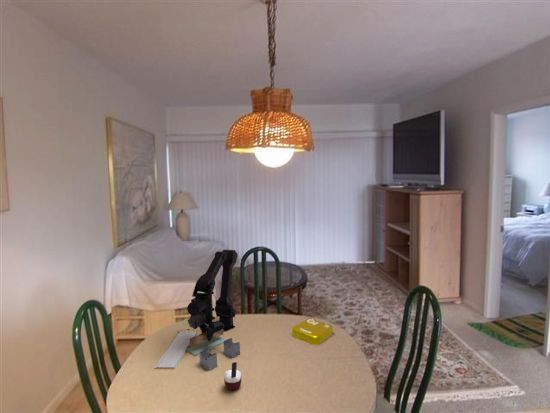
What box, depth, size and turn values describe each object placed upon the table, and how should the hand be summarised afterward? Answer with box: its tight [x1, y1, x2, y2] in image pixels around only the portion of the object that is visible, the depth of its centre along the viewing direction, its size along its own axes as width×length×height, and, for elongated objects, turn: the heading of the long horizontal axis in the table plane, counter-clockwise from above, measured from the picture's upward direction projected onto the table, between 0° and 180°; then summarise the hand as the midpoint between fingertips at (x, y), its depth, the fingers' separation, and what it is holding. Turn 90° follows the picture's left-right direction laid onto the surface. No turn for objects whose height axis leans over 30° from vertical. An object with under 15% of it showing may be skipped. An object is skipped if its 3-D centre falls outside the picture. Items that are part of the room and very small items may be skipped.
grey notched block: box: [199, 349, 218, 372], centre depth 136 cm, size 4×6×6 cm, turn 46°
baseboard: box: [153, 328, 198, 370], centre depth 150 cm, size 30×3×10 cm
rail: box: [189, 329, 224, 348], centre depth 152 cm, size 16×3×3 cm, turn 136°
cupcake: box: [223, 361, 242, 391], centre depth 122 cm, size 10×6×12 cm, turn 175°
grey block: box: [223, 337, 241, 359], centre depth 145 cm, size 4×6×6 cm, turn 46°
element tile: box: [291, 318, 334, 346], centre depth 161 cm, size 15×15×5 cm
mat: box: [186, 336, 227, 357], centre depth 153 cm, size 17×7×1 cm, turn 136°
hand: (207, 339), depth 153 cm, fingers closed on rail, 3 cm apart
